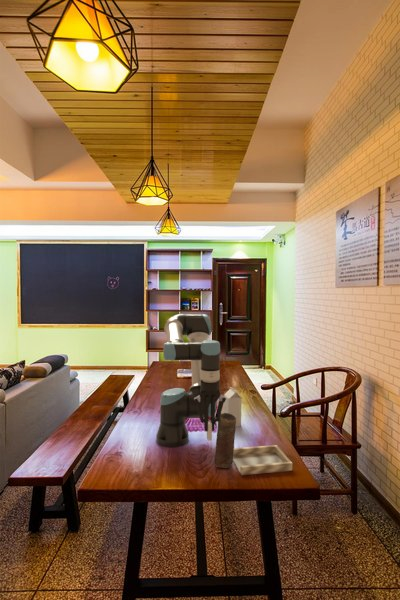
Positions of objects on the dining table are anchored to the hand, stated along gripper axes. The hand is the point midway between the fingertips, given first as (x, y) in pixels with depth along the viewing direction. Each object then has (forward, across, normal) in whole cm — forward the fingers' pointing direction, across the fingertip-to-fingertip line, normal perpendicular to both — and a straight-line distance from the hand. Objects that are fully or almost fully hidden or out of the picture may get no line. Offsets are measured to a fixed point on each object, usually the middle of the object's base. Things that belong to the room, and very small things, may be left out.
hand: (209, 438), depth 129 cm
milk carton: (+12, +21, +39) cm, 46 cm away
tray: (+12, +22, 0) cm, 24 cm away
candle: (+12, +6, 0) cm, 13 cm away
